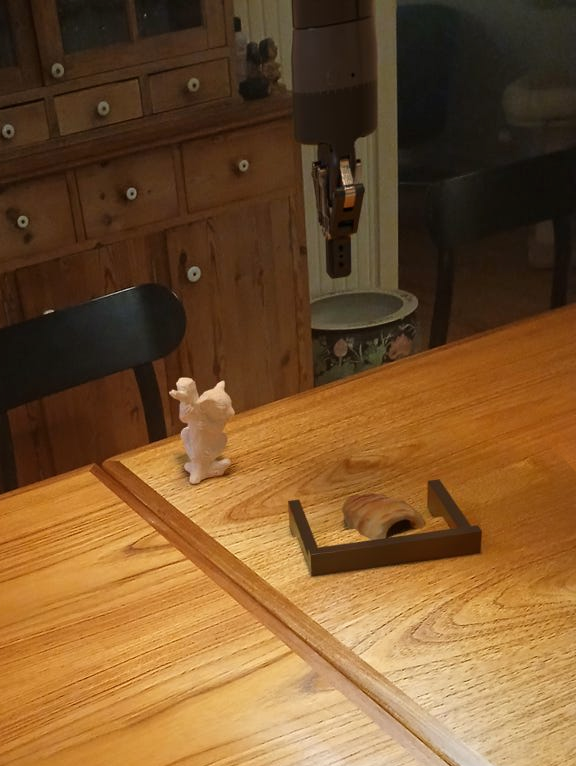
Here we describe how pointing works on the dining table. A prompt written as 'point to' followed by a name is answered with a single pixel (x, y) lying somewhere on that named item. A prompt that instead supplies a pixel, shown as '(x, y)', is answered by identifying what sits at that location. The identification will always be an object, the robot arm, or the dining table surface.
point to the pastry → (380, 515)
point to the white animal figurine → (203, 428)
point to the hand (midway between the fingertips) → (338, 275)
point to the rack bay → (391, 540)
